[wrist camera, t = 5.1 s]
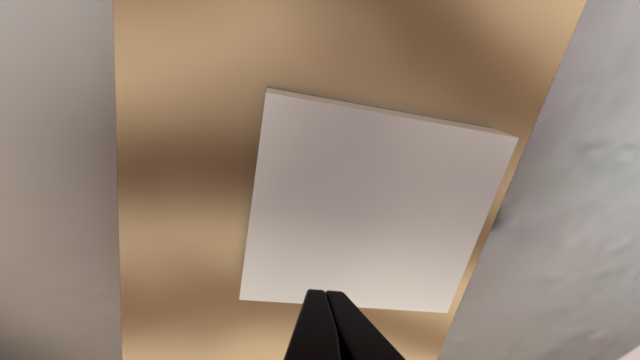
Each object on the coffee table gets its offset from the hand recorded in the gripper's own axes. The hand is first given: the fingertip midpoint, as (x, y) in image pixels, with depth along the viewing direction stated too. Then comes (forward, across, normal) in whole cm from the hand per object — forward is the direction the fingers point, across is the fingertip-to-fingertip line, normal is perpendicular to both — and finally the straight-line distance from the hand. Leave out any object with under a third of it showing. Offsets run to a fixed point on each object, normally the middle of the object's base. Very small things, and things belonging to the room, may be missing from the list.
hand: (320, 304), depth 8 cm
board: (+8, -1, 0) cm, 8 cm away
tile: (+5, +2, 0) cm, 6 cm away
